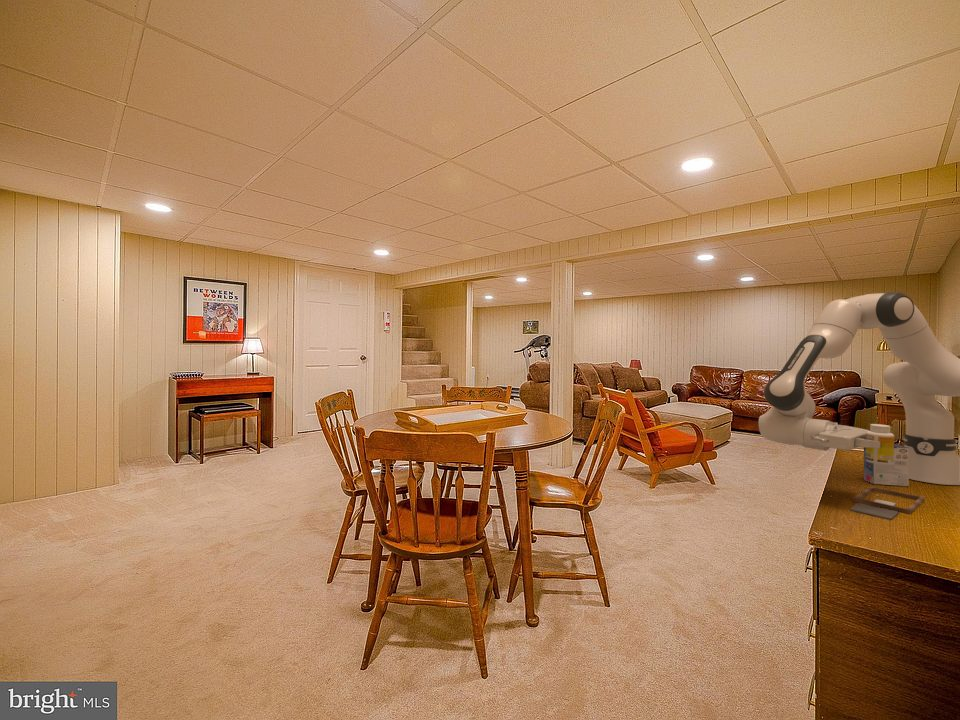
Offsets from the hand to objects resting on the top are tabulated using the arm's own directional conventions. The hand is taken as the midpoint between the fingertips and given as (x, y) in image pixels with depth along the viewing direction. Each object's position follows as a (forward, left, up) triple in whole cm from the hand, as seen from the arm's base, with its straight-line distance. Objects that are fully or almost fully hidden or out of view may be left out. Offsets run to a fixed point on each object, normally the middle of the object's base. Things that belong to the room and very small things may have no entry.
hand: (884, 443), depth 116 cm
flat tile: (-5, -1, -18) cm, 19 cm away
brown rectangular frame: (-9, -1, -17) cm, 20 cm away
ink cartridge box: (-31, -6, -18) cm, 36 cm away
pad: (+5, -1, -17) cm, 18 cm away
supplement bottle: (0, -1, -6) cm, 6 cm away
